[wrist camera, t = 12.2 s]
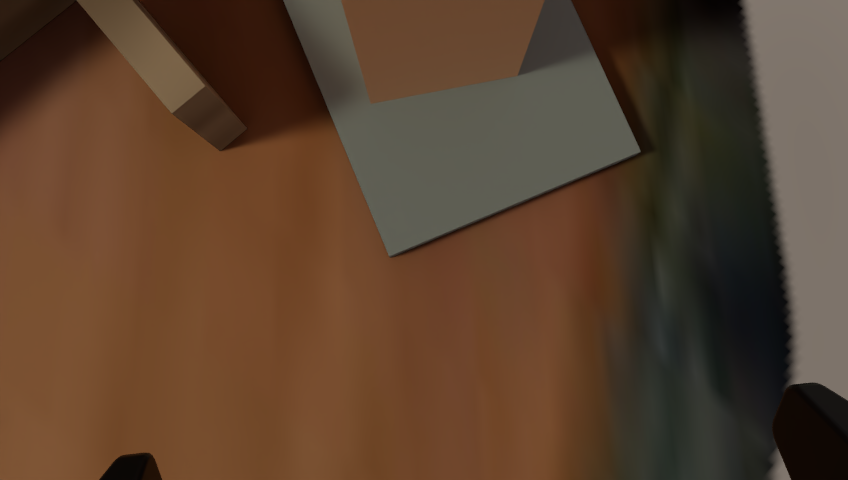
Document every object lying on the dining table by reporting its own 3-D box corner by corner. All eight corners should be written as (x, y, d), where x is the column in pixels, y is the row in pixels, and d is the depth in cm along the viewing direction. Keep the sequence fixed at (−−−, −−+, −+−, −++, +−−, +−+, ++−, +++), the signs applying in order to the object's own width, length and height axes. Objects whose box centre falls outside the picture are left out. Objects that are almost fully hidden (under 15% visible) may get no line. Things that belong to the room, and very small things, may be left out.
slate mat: (635, 155, 24) (640, 151, 23) (390, 257, 23) (389, 256, 23) (473, -197, 25) (474, -210, 25) (240, -105, 25) (235, -115, 24)
